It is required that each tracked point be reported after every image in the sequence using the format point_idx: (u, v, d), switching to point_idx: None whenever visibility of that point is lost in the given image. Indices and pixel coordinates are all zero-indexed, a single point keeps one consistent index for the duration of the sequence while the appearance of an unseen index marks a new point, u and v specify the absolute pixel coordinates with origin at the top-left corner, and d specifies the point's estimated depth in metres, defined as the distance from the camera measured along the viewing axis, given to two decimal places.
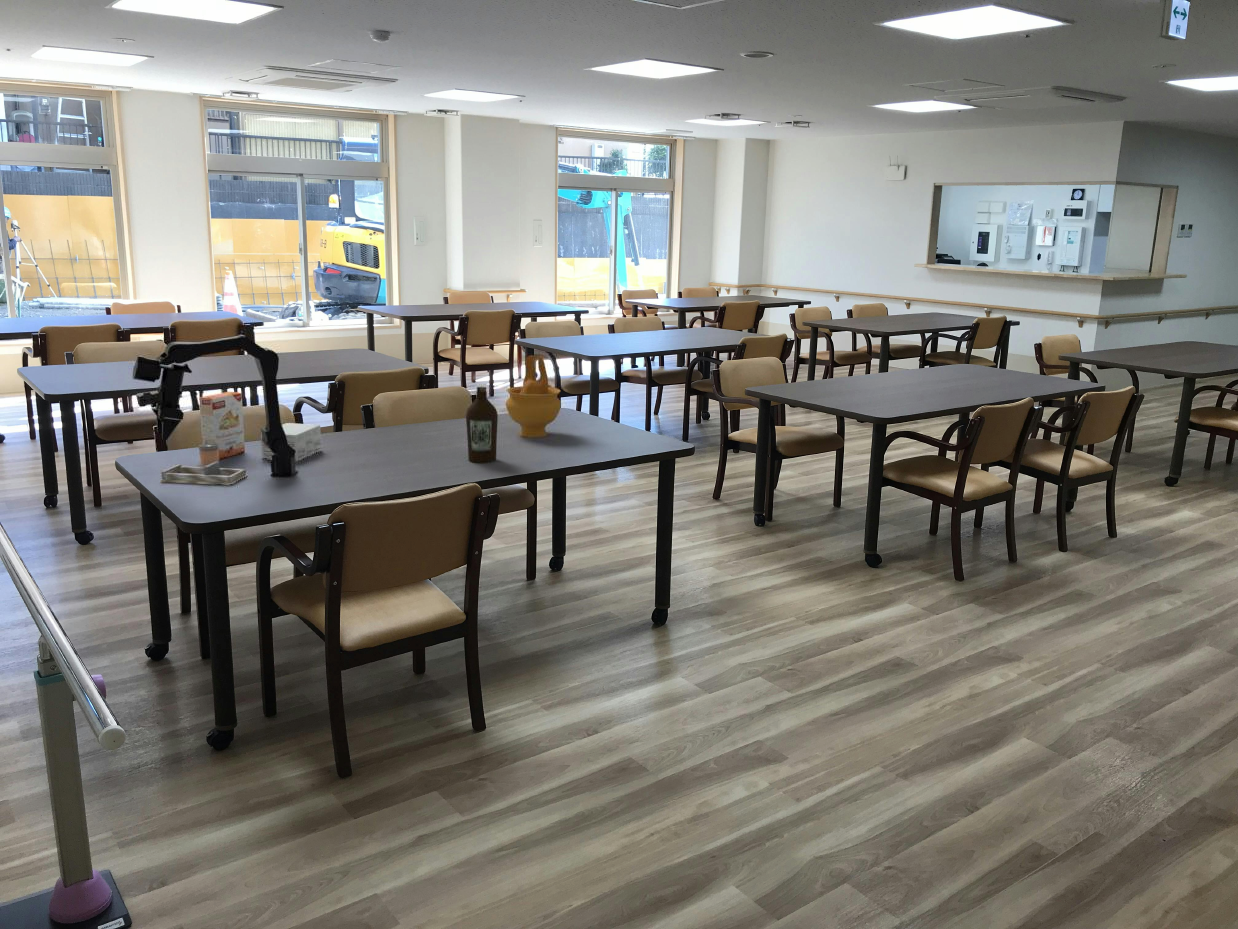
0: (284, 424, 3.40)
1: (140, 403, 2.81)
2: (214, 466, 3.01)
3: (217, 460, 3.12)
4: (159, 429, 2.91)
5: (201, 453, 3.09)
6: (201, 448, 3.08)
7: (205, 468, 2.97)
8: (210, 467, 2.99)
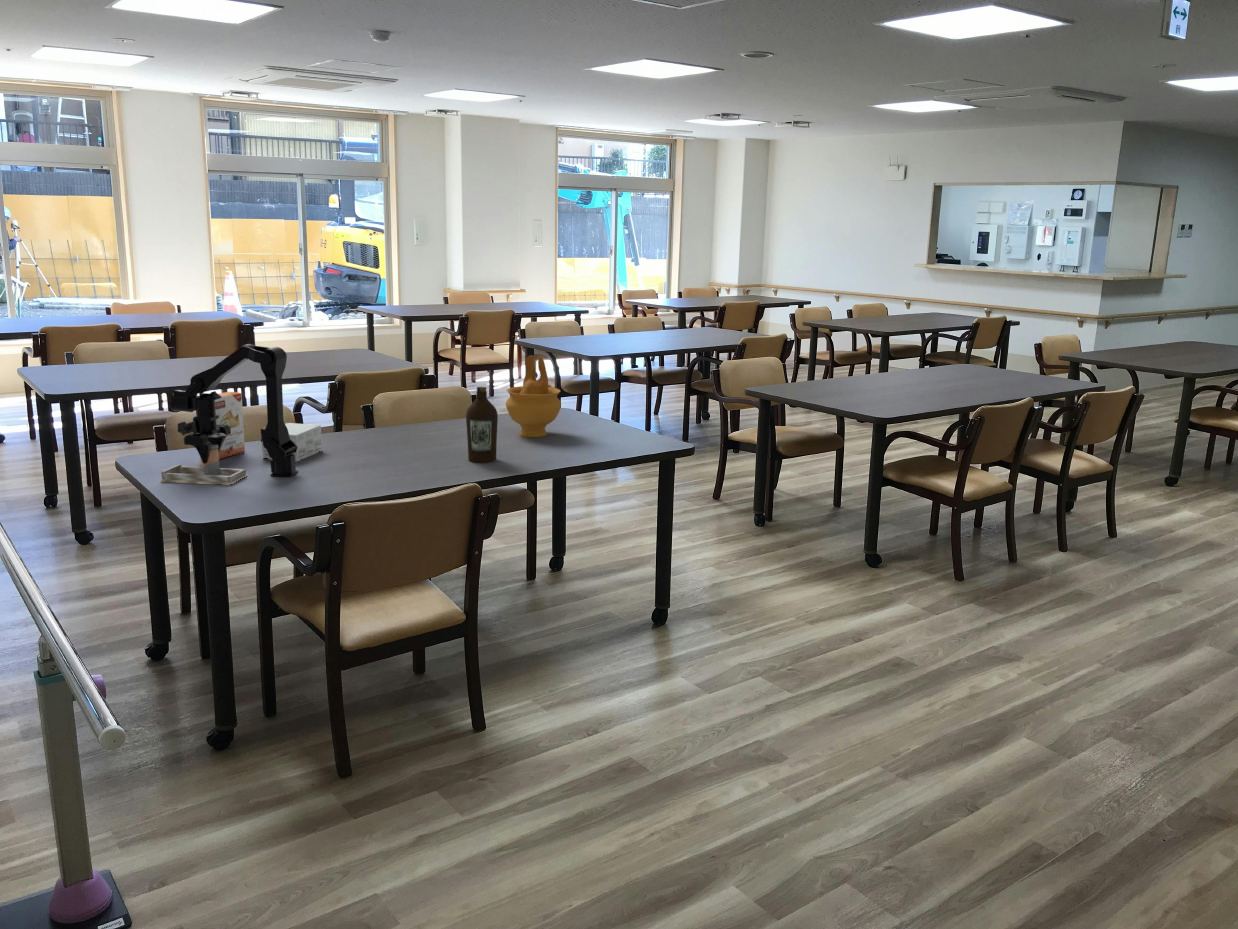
0: (285, 424, 3.40)
1: (181, 432, 3.09)
2: (214, 466, 3.01)
3: (217, 460, 3.12)
4: None
5: None
6: None
7: (205, 468, 2.97)
8: (210, 467, 2.99)
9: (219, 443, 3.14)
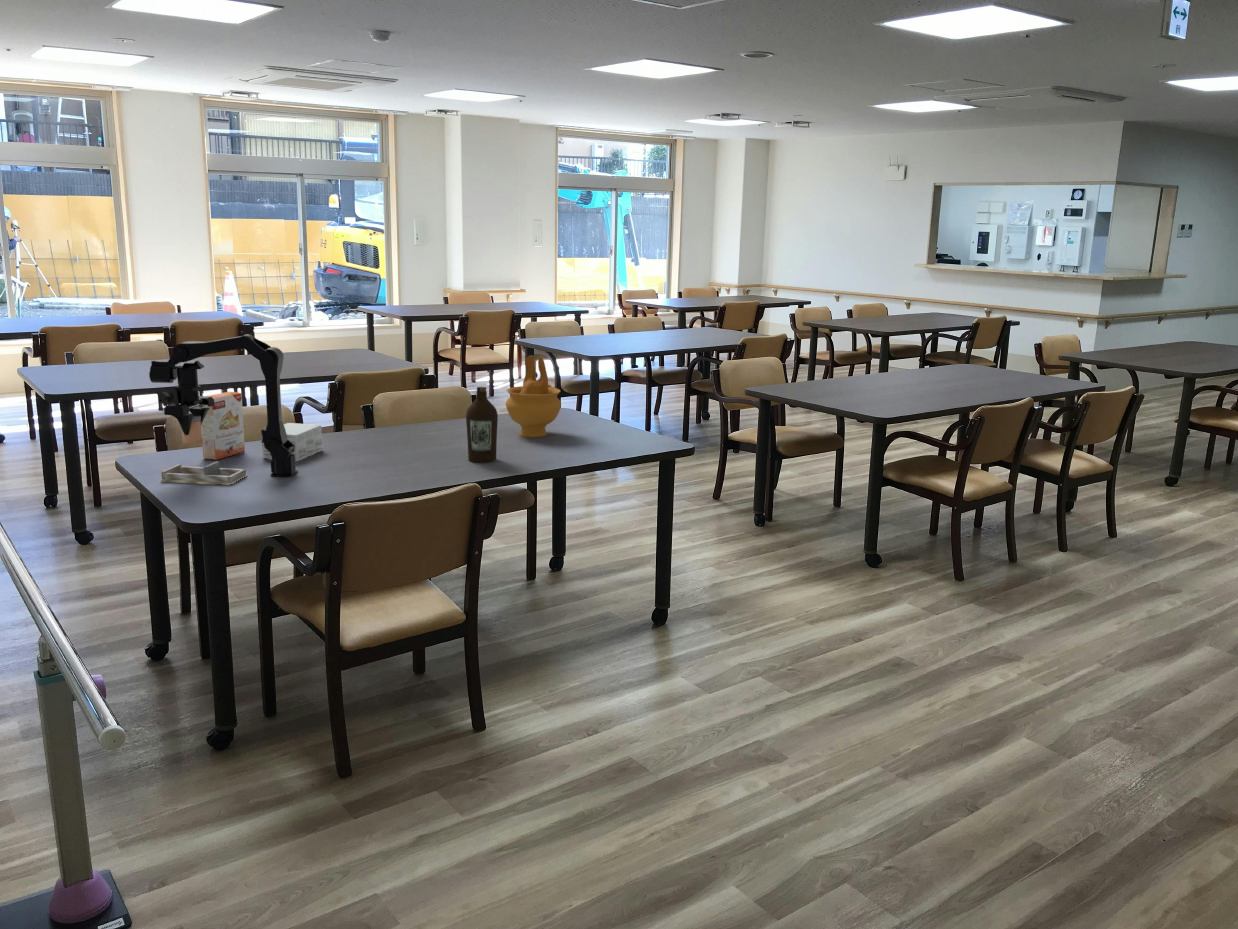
0: (285, 424, 3.40)
1: (162, 403, 3.00)
2: (214, 466, 3.01)
3: (199, 432, 3.03)
4: None
5: None
6: None
7: (205, 468, 2.97)
8: (210, 467, 2.99)
9: (202, 415, 3.05)
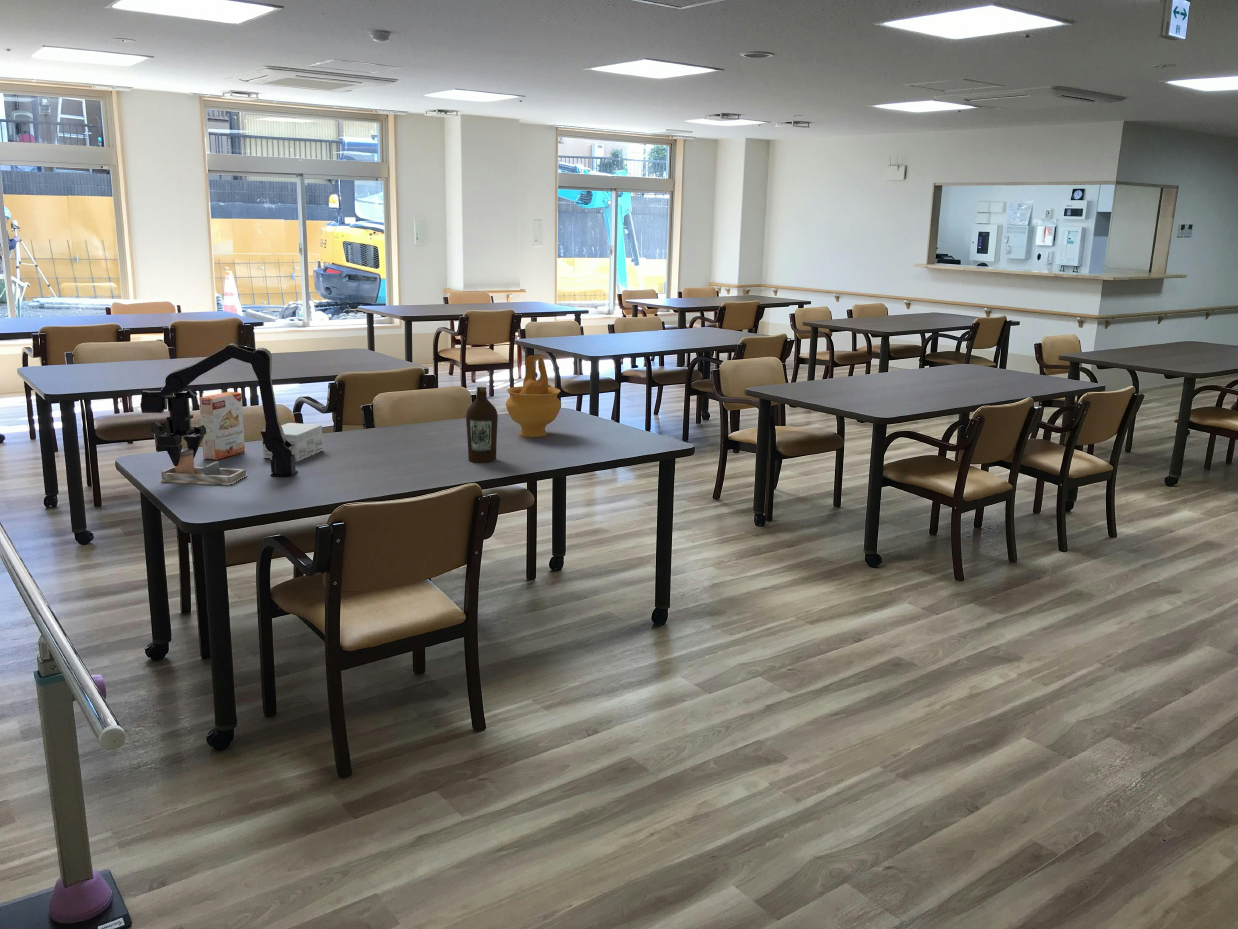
0: (286, 424, 3.40)
1: (154, 433, 2.98)
2: (214, 466, 3.01)
3: (192, 466, 3.01)
4: None
5: None
6: None
7: (205, 468, 2.97)
8: (210, 467, 2.99)
9: (197, 443, 3.05)
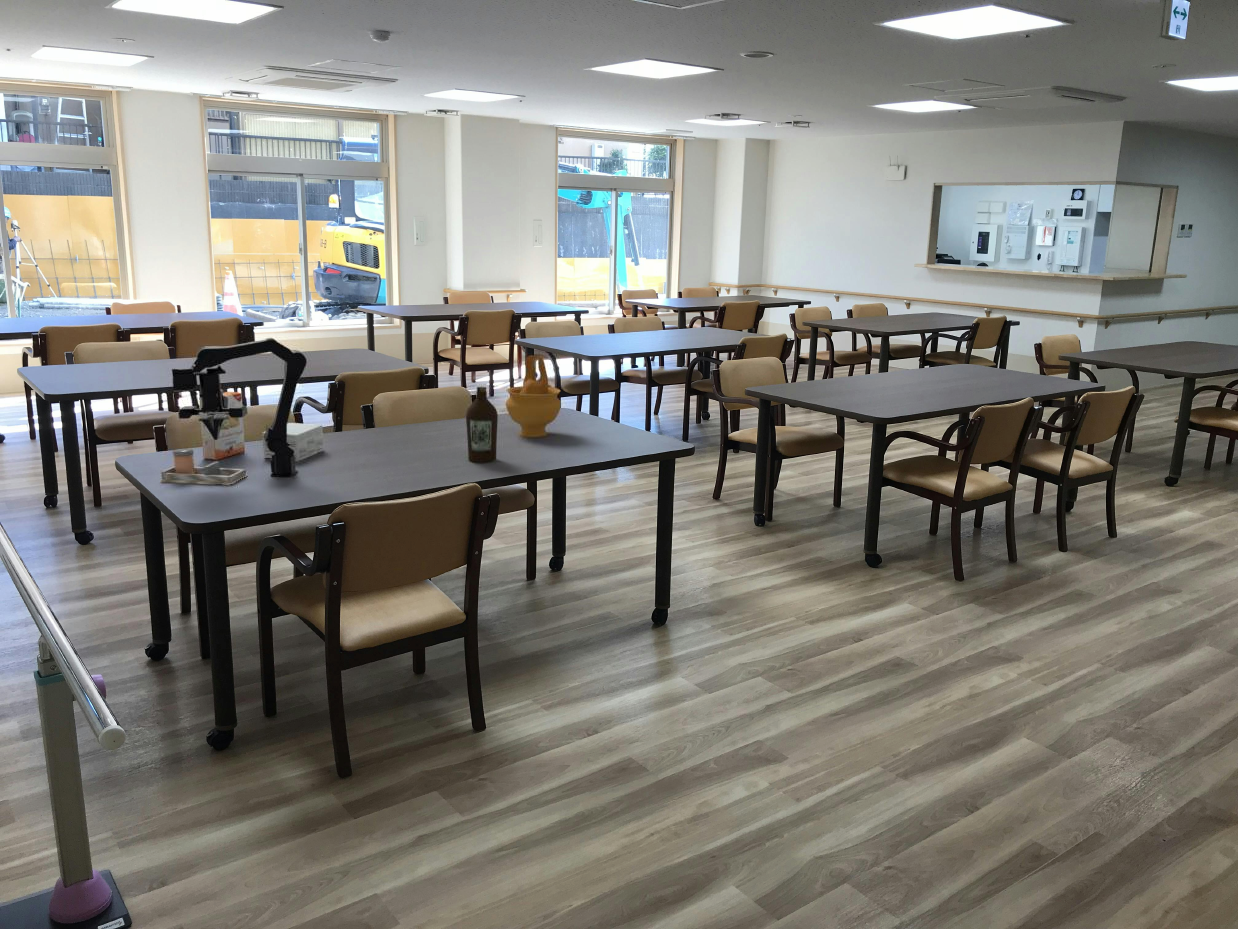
0: None
1: None
2: (214, 466, 3.01)
3: (192, 466, 3.01)
4: None
5: (175, 459, 2.99)
6: (175, 454, 2.98)
7: (205, 468, 2.97)
8: (210, 467, 2.99)
9: None
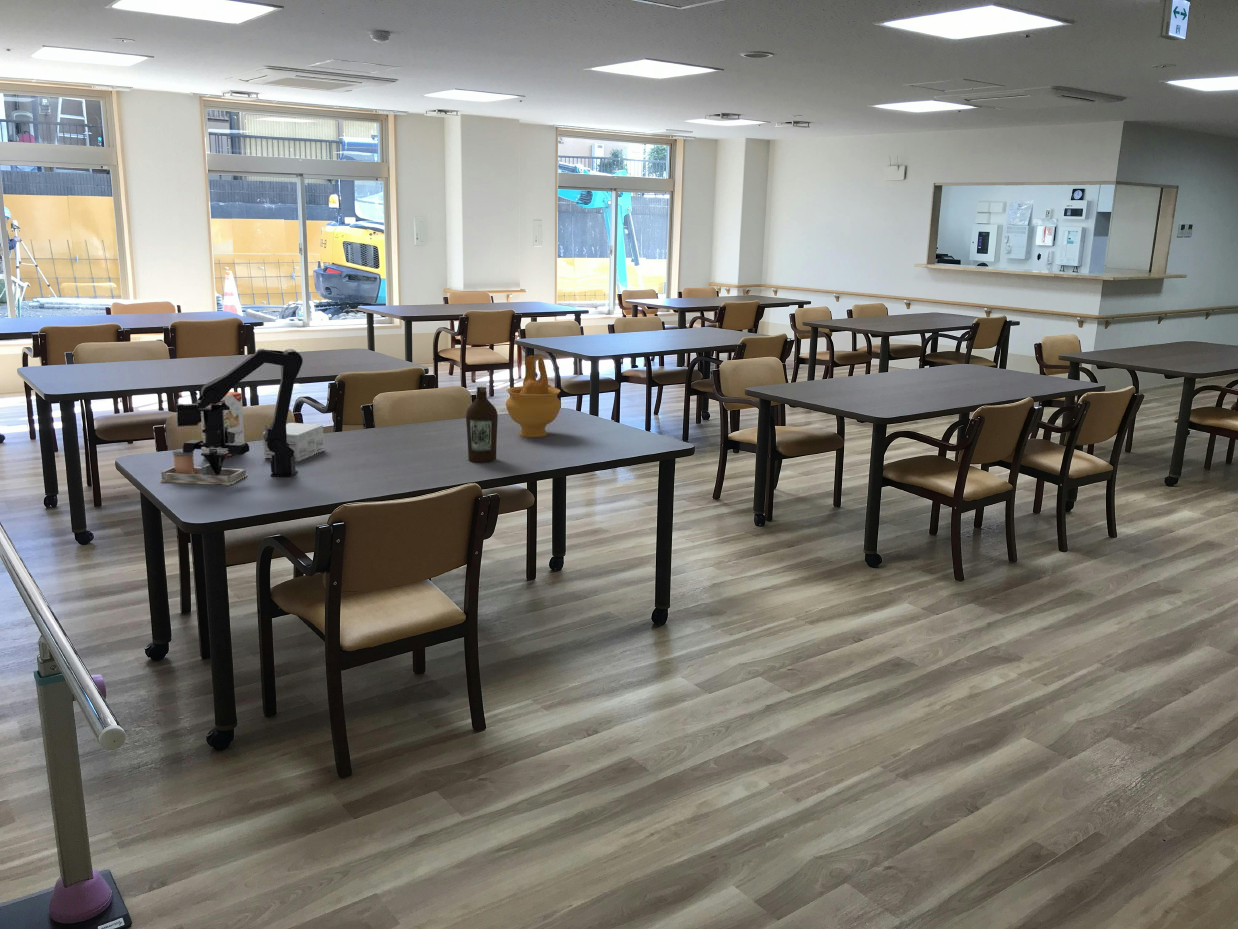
0: (287, 424, 3.40)
1: None
2: None
3: (192, 466, 3.01)
4: None
5: (175, 459, 2.99)
6: (175, 454, 2.98)
7: (203, 468, 2.97)
8: (208, 467, 2.99)
9: None
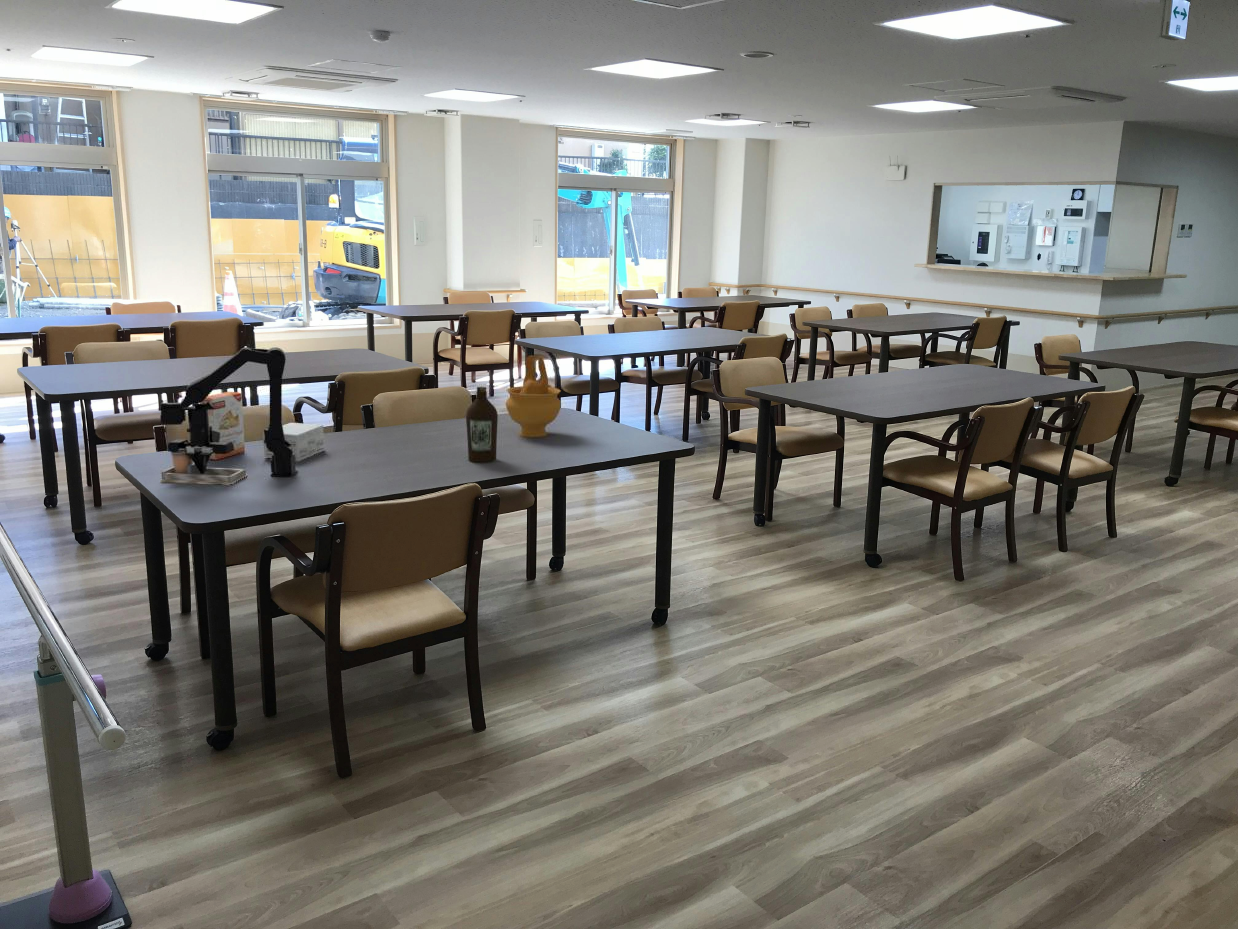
0: (287, 424, 3.40)
1: None
2: None
3: None
4: None
5: (174, 458, 2.99)
6: (173, 453, 2.98)
7: (188, 467, 2.98)
8: (193, 466, 2.99)
9: None
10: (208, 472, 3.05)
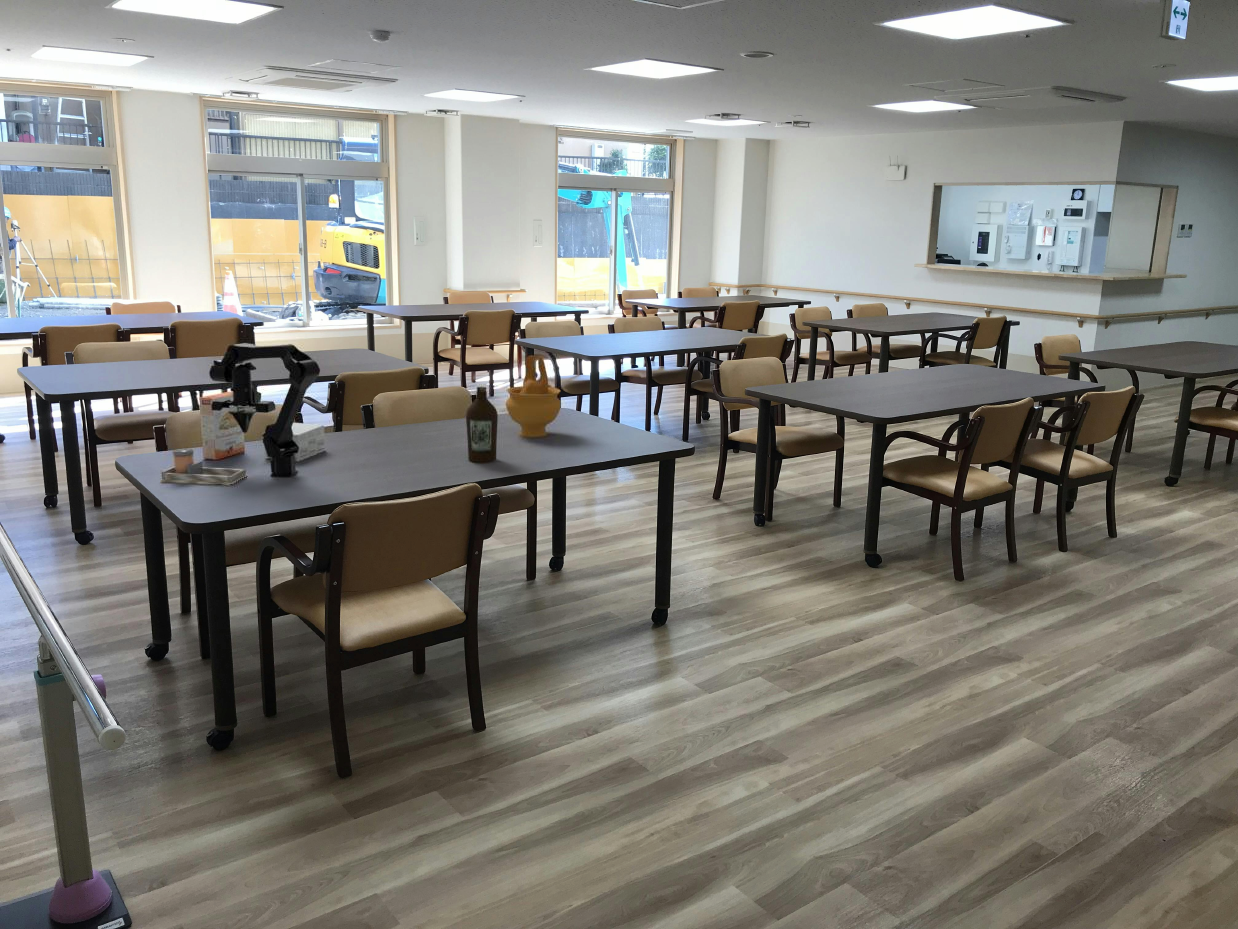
0: None
1: None
2: (197, 465, 3.02)
3: None
4: None
5: (175, 459, 2.99)
6: (175, 454, 2.98)
7: (188, 467, 2.98)
8: (193, 466, 2.99)
9: None
10: (208, 472, 3.05)
